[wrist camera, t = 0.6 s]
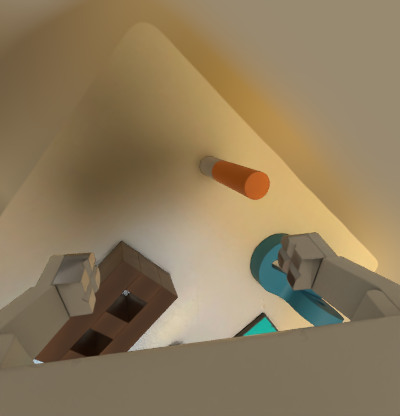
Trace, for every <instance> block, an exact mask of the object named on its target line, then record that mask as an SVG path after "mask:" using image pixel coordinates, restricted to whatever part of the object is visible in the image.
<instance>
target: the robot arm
mask: <svg viewBox="0 0 400 416" xmlns="http://www.w3.org/2000/svg"><path fill="white" fill-rule="evenodd" d="M281 244H282V246H283V247H282V248H281V249H280V250H279V251H278V263H279V266H280V268H281V270H282V271H283V272H285V273H286V274H287V277H286V279H287V281H288V283H289V284H290V286H291V288H292V290H304V289H312V291H314V292H315V293H316V294H318V295H319V296H320V297H322V298H323V299H324V300H325V301H327V302H328V303H329V304H331V305H332V306H333V307H334V308H336V309H337V310H338V311H340V312H341V313H342V314H343V315H345V316H346V317H348V318H349V319H350V320H351V321H350V322H344V323H336V324H329V325H322V326H314V327H307V328H299V329H292V330H285V331H277V332H270V333H263V334H255V335H248V336H241V337H233V338H226V339H218V340H211V341H203V342H196V343H188V344H181V345H173V346H166V347H159V348H151V349H144V350H136V351H129V352H121V353H114V354H107V355H99V356H92V357H84V358H77V359H69V360H62V361H55V362H47V363H40V364H35V363H34V362H33V360H34V359H35V358H36V356H37V355H38V354H39V353H40V352H41V351H42V350H43V348H44V347H45V346H46V345H47V344H48V343H49V341H50V340H51V339H52V338H53V337H54V336H55V335H56V333H57V332H58V331H59V330H60V329H61V328H62V326H63V325H64V324H65V323H66V322H67V321H68V320H69V318H70V317H72V316H79V315H86V314H92V313H93V309H94V306H95V302H96V297H95V293H96V292H97V291H98V290H99V286H100V272H99V268H98V267H97V266H96V265H94V264H95V261H96V258H95V255H94V253H77V254H67V255H53V256H52V257H51V258H50V260H49V262H48V263H47V265H46V267H45V269H44V271H43V273H42V275H41V277H40V279H39V280H38V282H37V284H36V286H35V287H32V288H30V289H28V290H27V291H26V292H24V293H23V294H22V295H20V296H19V297H17V298H16V299H15V300H13V301H12V302H11V303H9V304H8V305H7V306H5V307H4V308H3V309H1V310H0V416H400V285H398V284H397V283H395V282H392V281H390V280H388V279H386V278H384V277H382V276H380V275H378V274H376V273H374V272H372V271H370V270H368V269H366V268H364V267H362V266H360V265H358V264H356V263H354V262H352V261H350V260H348V259H346V258H344V257H342V256H339V257H338V256H337V255H336V254H335V252H334V251H333V250H332V249H331V248H330V247H329V245H328V244H327V243H326V242H325V241H324V240H323V239H322V237H321V236H320V235H319V234H318V233H316V232H314V233H305V234H297V235H286V236H283V237H282V239H281Z"/></svg>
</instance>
